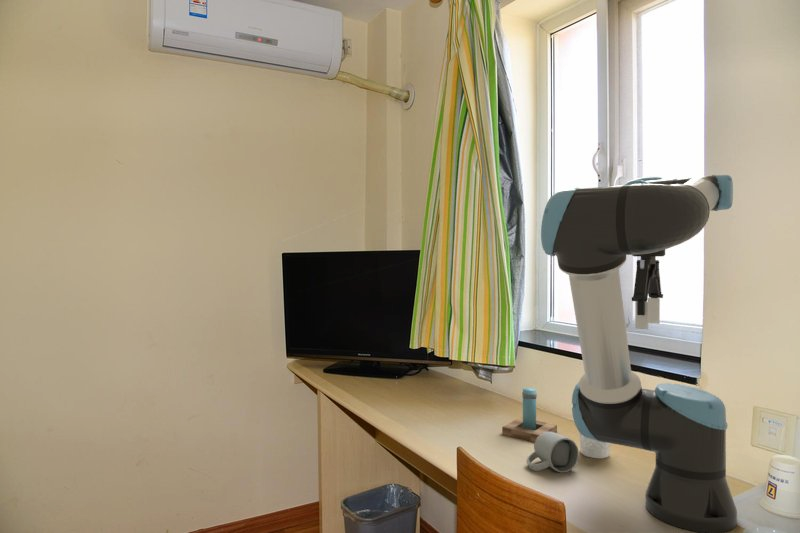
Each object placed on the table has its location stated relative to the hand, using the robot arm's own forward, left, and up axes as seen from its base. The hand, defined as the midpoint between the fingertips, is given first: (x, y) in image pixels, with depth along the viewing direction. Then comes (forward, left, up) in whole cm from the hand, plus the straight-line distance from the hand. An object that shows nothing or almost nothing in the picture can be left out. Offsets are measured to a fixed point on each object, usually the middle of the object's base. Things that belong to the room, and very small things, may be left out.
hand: (647, 326), depth 130 cm
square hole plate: (-6, +29, -31) cm, 43 cm away
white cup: (-10, +10, -31) cm, 34 cm away
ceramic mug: (-25, +15, -32) cm, 43 cm away
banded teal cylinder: (-6, +29, -31) cm, 43 cm away
